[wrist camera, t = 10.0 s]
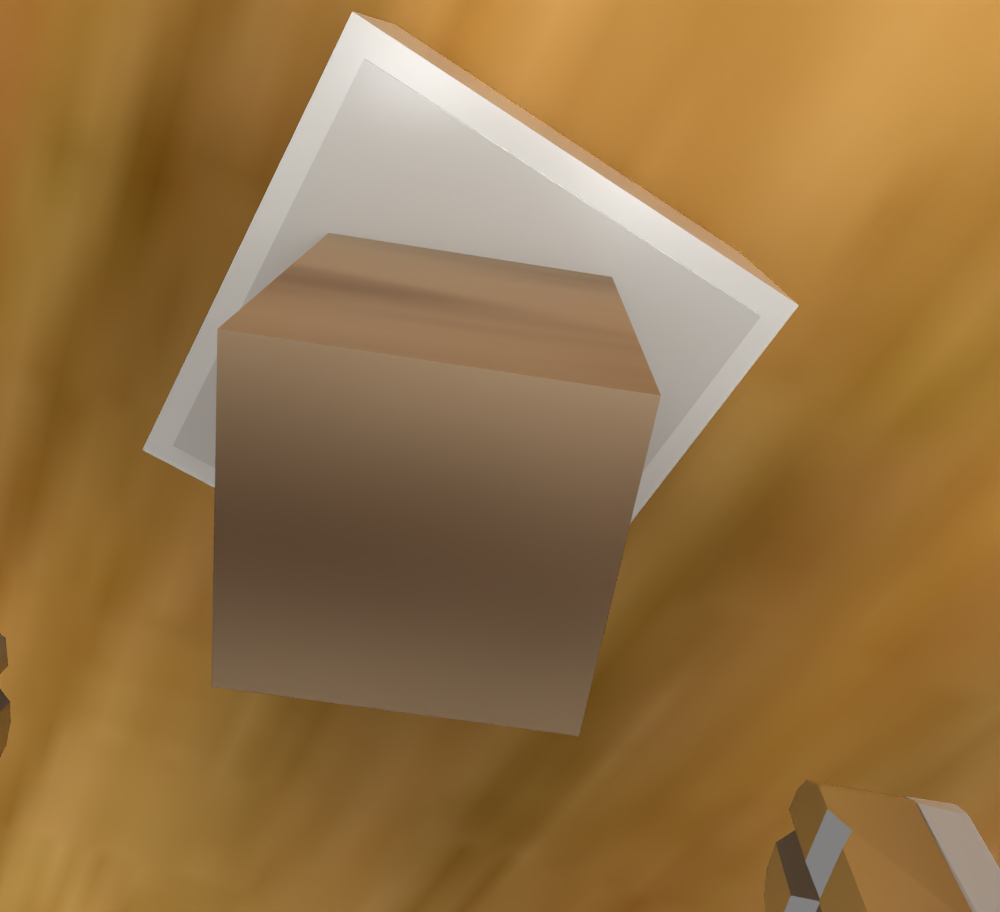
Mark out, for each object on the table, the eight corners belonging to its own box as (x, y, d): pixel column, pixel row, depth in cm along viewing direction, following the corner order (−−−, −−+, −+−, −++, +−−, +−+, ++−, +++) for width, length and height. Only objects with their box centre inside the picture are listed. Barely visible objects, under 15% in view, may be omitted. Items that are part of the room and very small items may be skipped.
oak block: (561, 523, 17) (579, 736, 12) (310, 488, 17) (211, 686, 12) (612, 277, 15) (660, 395, 10) (328, 232, 15) (217, 329, 10)
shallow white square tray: (530, 538, 23) (529, 657, 19) (223, 369, 22) (139, 452, 17) (737, 250, 20) (801, 307, 15) (396, 24, 18) (350, 11, 14)
